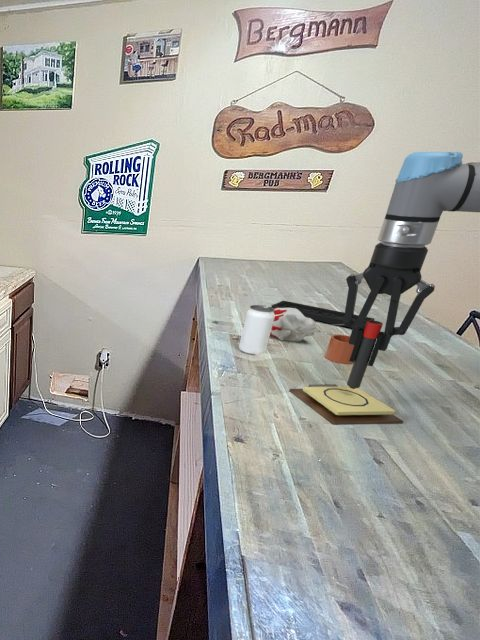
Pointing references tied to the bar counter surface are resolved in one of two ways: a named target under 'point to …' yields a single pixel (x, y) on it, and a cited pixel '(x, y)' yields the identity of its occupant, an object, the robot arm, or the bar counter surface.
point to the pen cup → (339, 349)
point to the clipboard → (342, 418)
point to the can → (256, 329)
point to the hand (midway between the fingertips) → (361, 361)
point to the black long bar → (319, 313)
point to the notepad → (348, 401)
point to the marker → (364, 353)
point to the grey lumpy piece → (291, 325)
